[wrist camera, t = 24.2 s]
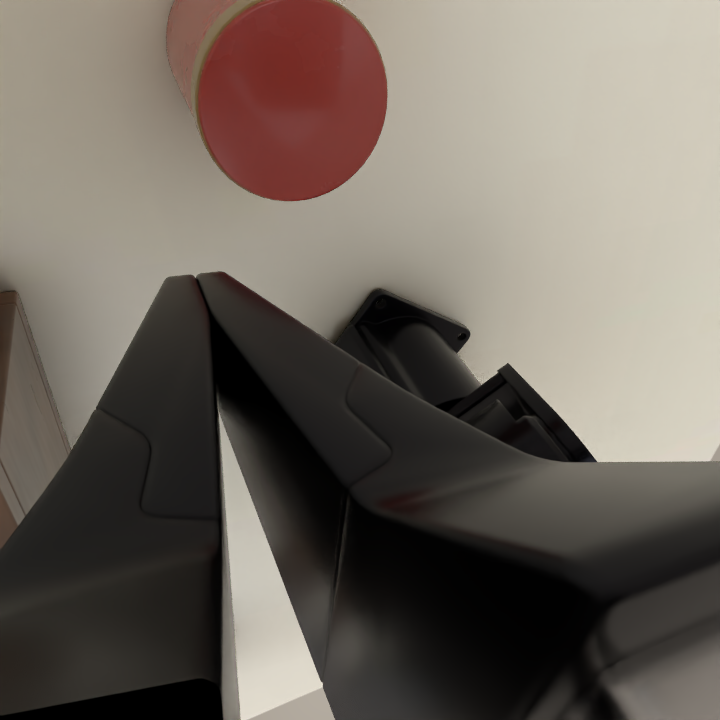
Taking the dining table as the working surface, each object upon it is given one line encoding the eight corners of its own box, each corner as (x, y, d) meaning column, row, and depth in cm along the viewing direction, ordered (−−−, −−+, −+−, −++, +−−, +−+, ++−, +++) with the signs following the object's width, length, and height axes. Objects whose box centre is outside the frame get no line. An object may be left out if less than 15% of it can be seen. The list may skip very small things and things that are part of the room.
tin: (207, -85, 15) (261, -62, 11) (343, 22, 18) (425, 71, 14) (138, 79, 17) (160, 151, 13) (271, 152, 20) (325, 231, 16)
